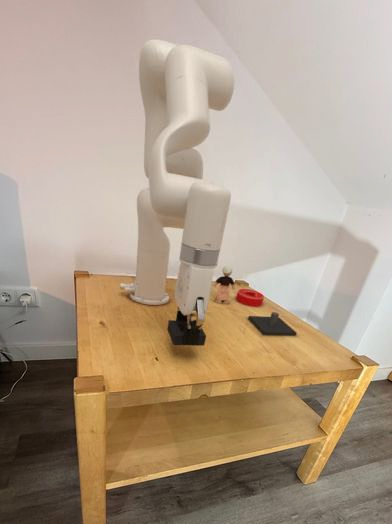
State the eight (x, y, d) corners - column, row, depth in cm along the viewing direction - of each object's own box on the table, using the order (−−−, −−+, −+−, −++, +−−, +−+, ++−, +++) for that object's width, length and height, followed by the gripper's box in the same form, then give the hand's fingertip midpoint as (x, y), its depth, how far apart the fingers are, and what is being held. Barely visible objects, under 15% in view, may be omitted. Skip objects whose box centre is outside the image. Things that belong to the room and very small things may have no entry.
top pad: (173, 345, 63) (174, 335, 62) (167, 329, 69) (168, 320, 68) (204, 345, 65) (206, 335, 64) (195, 330, 71) (197, 321, 70)
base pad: (263, 335, 86) (267, 321, 83) (247, 318, 95) (251, 305, 92) (295, 335, 89) (300, 322, 87) (277, 319, 98) (281, 307, 96)
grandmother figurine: (228, 299, 107) (235, 264, 101) (232, 304, 104) (241, 268, 98) (208, 299, 104) (215, 263, 98) (212, 303, 101) (220, 266, 95)
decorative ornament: (232, 295, 112) (234, 287, 111) (256, 297, 115) (258, 289, 113) (240, 305, 104) (243, 296, 103) (265, 307, 107) (268, 299, 105)
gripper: (171, 242, 64) (162, 317, 73) (192, 267, 50) (177, 356, 59) (204, 246, 66) (191, 318, 75) (233, 271, 52) (213, 356, 61)
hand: (185, 334), depth 67 cm, fingers closed on top pad, 7 cm apart
